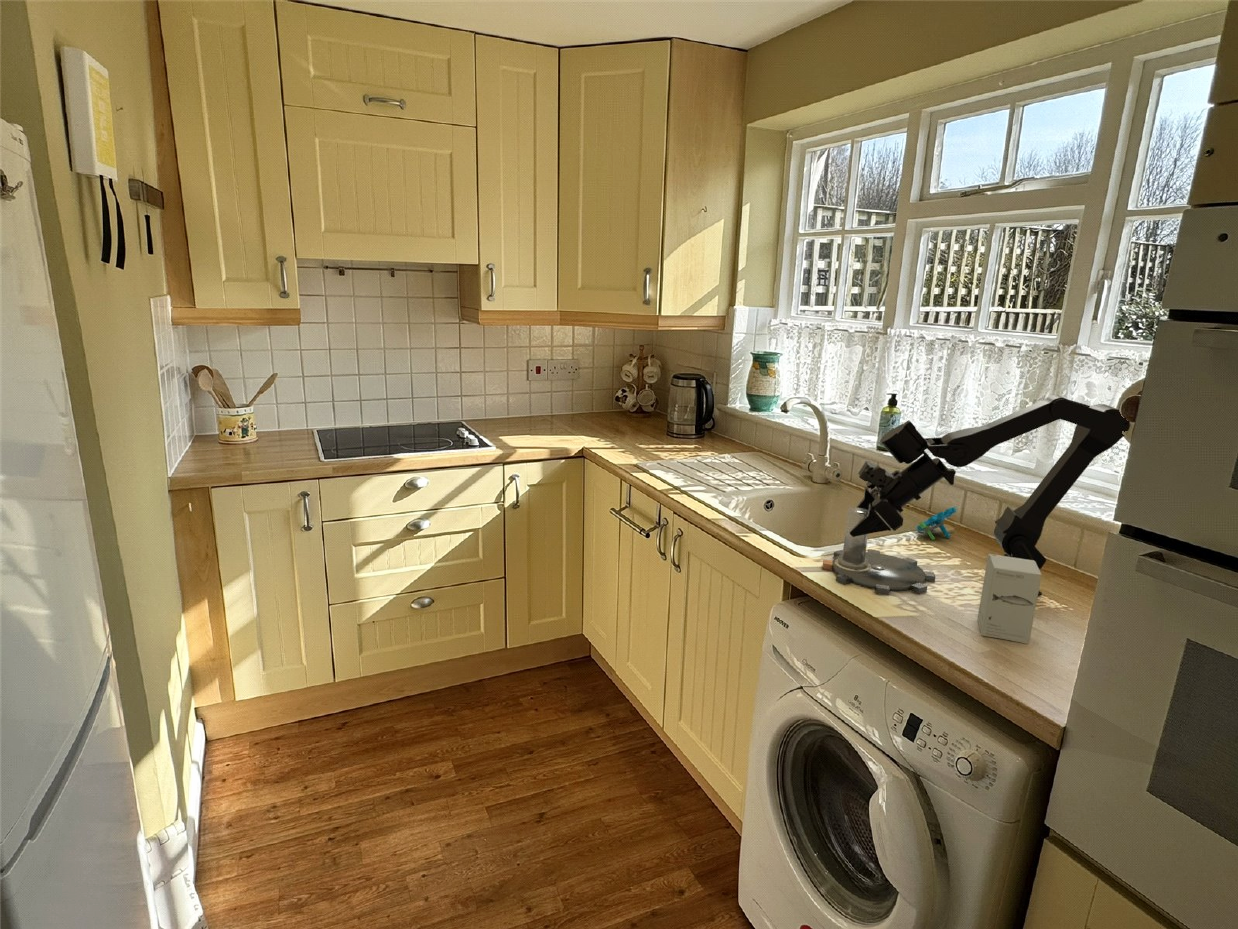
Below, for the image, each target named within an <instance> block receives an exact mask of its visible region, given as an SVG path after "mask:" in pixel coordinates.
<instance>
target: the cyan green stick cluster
mask: <svg viewBox="0 0 1238 929" xmlns="http://www.w3.org/2000/svg"><path fill="white" fill-rule="evenodd" d="M957 510H958V509H957V508H956V506H953V507H950V508H947V509H945V511H940V512H938V513H936V514H934V515H932V516H930V517H929V518H927V519H928V520H925V521H921V522H920V523H918V524H919V525H917V526H916V529H917V531H918V532H921V531H923V532H924V533H927V534H928V536H929V538H930V539H931V540H932V541H934V540H936V538H935V536H934V535H933V533H932V530H935V529H938V528H939V529H940V530H941V532H942V533H943V535H944V536H945V538H946V539H948V538H950V537H951V534H950V533H949V531H948V530H947V529H946V527H945V526H944V525H945V523H944V521H945V520H946V519H947V518H950V517H951V516H952V515H953V514H955V513H957Z"/></svg>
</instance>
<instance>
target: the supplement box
mask: <svg viewBox="0 0 1238 929" xmlns="http://www.w3.org/2000/svg"><path fill="white" fill-rule="evenodd" d="M1042 574H1043V573H1042V572H1041V569H1039V568H1038V566H1037V564H1036V562H1035V561H1034V560H1027V559H1020V558H1013V557H1007V556H1004V555H999V554H992V553H988V555H987V559H986V565H985V572H984V578H983V583H982V589H981V593H980V601H979V606H978V613H977V618H976V619H977V623H978V626H979V632H980V635H981V636H982V637H991V638H995V639H1001V640H1002V639H1003V640H1007V641H1011V642H1017V643H1022V644H1027V645H1028V644H1029V643H1030V639H1031V634H1032V627H1033V624H1034V623H1033V622H1034V617H1035V611H1036V607H1037V602H1038V597H1039V595H1038V592H1039V591H1040V586H1041V581H1042V577H1043V576H1042Z"/></svg>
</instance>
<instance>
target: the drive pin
mask: <svg viewBox="0 0 1238 929" xmlns="http://www.w3.org/2000/svg"><path fill="white" fill-rule="evenodd" d="M867 514H868V510H867V509H863V508H856V507H849V508H847V512H846V520H845V529H844V530H845V531H844V540H843V548H842V550H843V555H840V556H839V557H838V564H839V565H840V566H842V567H845V568H848V569H854V570H862V569H866V568H868V564H869V561H868V560H867V559H866V558H865V554H866V552H867V544H868V536H869V534H865V535H860V536H856V537H852V536H851V535H850V531H851V530H852V529H853V528H854V527H855V526H856V525H857V524H858V523H859V522H860V521H861V520H862V519H863V518H864V517H865V516H866V515H867Z"/></svg>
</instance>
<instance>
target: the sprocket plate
mask: <svg viewBox="0 0 1238 929" xmlns="http://www.w3.org/2000/svg"><path fill="white" fill-rule="evenodd" d="M840 555H843V549H841V550H836V551H833V559H831V560H829V559H823V561H822V569H823V570H827V571H828V570H829V571H832V572H833V574H835V575H836V576H835V582H837V583H840V584H841V585H844V586H848V585H851V584H852V585H855V586H858V587H861V588H865V589H869V590H874V591H875V594H876V595H883V596H884V595H885V596H890V592H894V593H895V592H897V593H898V592H900V593H901V592H913V593H915V594H918V595H921V594H924V593H927V591H928V585H926V584H925V582H931V583H935V582H936V574H935V573H934V571H925V570H923V568H921V567H920V566H919V565H918V560H916V559H913V558H910V557H908V556H907V557H905V558H901V557H897V556H894V555H890V554H886V553H885V554H884V553H881V552H880V550H877V549H867V551H866V554H865V558H866V559H867V560H868V561H869V564H868V568H866V569H862V570H854V569H848V568H845V567H842V566H840V565H839V564H838V557H839V556H840Z"/></svg>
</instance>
